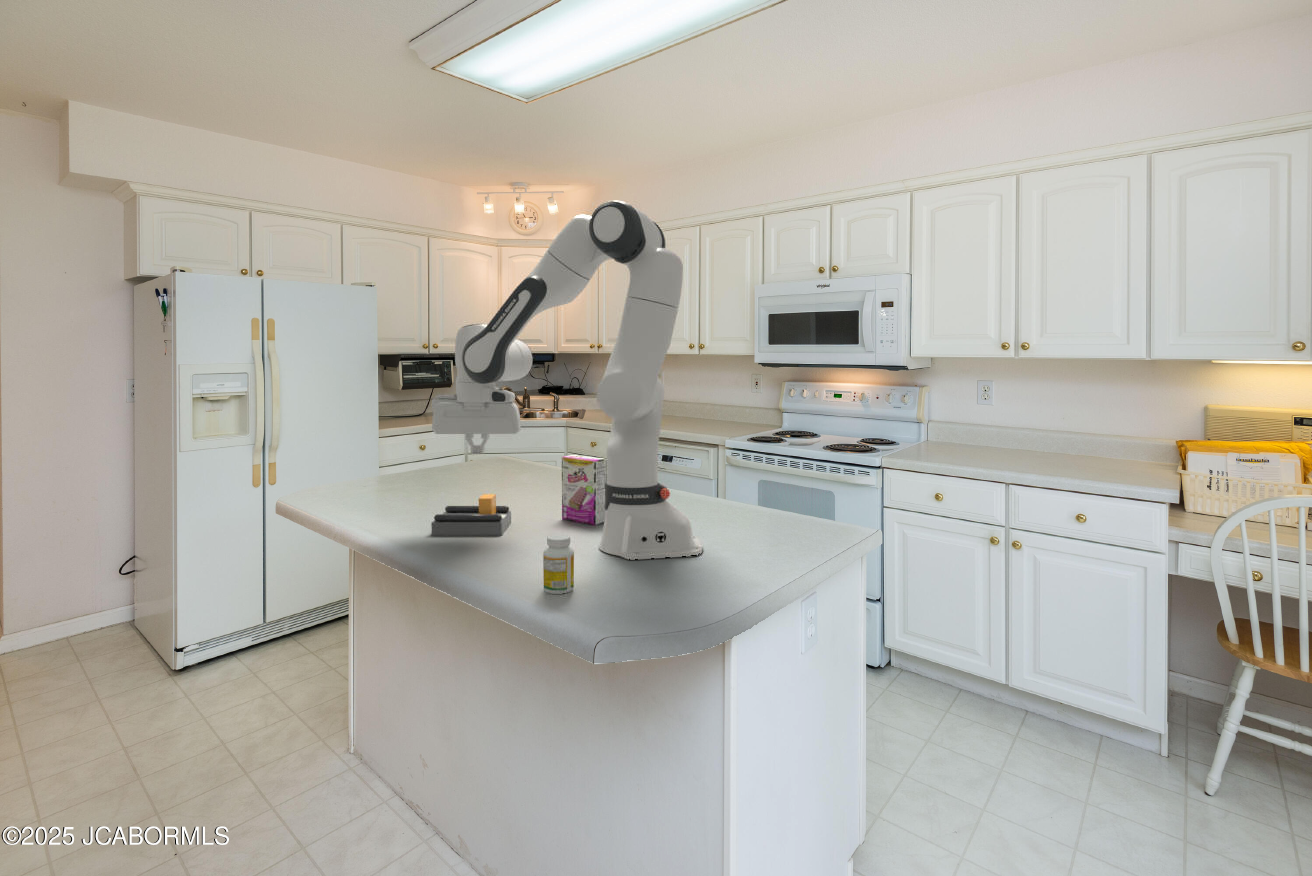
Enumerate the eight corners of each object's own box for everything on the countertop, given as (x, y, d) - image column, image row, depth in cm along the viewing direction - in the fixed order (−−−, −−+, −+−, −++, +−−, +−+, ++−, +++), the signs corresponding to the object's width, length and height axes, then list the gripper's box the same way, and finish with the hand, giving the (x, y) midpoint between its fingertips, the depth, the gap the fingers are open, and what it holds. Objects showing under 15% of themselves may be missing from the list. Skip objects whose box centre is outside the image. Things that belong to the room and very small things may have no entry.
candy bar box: (560, 519, 164) (560, 456, 162) (573, 516, 168) (573, 454, 166) (595, 526, 158) (595, 460, 156) (607, 522, 162) (607, 457, 160)
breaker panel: (511, 522, 160) (511, 504, 160) (501, 535, 148) (501, 516, 148) (446, 522, 159) (445, 504, 159) (431, 535, 148) (431, 516, 147)
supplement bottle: (557, 597, 109) (556, 542, 108) (537, 590, 113) (536, 537, 112) (580, 589, 114) (580, 536, 112) (560, 582, 117) (559, 531, 116)
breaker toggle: (496, 512, 156) (495, 494, 156) (491, 517, 151) (491, 498, 151) (483, 512, 156) (483, 494, 155) (478, 517, 151) (478, 498, 151)
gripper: (426, 395, 147) (429, 454, 148) (516, 394, 147) (518, 454, 149) (435, 393, 153) (437, 451, 154) (521, 393, 154) (522, 450, 155)
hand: (477, 452), depth 152 cm, fingers closed
